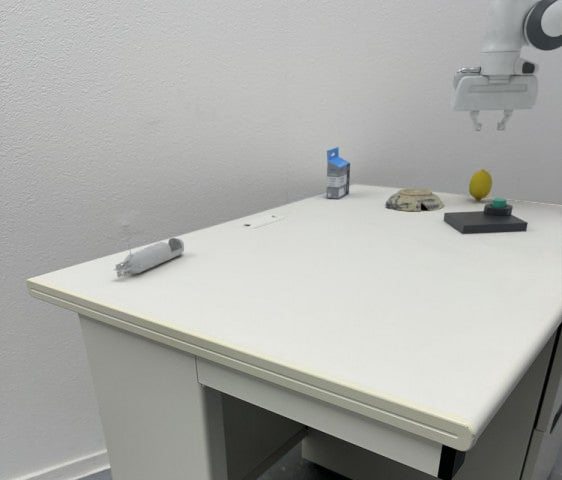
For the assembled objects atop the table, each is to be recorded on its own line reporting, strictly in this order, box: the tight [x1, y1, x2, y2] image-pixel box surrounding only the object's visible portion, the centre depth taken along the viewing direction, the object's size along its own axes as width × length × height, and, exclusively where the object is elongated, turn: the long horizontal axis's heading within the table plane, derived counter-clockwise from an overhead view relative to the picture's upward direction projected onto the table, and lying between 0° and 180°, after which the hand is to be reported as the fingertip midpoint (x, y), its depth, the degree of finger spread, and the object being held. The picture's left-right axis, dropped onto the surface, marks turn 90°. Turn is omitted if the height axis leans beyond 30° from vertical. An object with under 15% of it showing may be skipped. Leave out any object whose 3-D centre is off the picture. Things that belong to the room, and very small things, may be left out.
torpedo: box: [113, 237, 185, 278], centre depth 100 cm, size 18×5×7 cm, turn 152°
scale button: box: [491, 197, 508, 208], centre depth 123 cm, size 3×3×2 cm
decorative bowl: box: [385, 187, 444, 213], centre depth 140 cm, size 15×4×15 cm
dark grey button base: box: [443, 202, 529, 235], centre depth 121 cm, size 14×12×4 cm
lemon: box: [468, 168, 493, 202], centre depth 142 cm, size 6×6×8 cm
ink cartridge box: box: [325, 146, 351, 200], centre depth 151 cm, size 9×4×12 cm, turn 155°
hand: (488, 130), depth 135 cm, fingers open, 5 cm apart
